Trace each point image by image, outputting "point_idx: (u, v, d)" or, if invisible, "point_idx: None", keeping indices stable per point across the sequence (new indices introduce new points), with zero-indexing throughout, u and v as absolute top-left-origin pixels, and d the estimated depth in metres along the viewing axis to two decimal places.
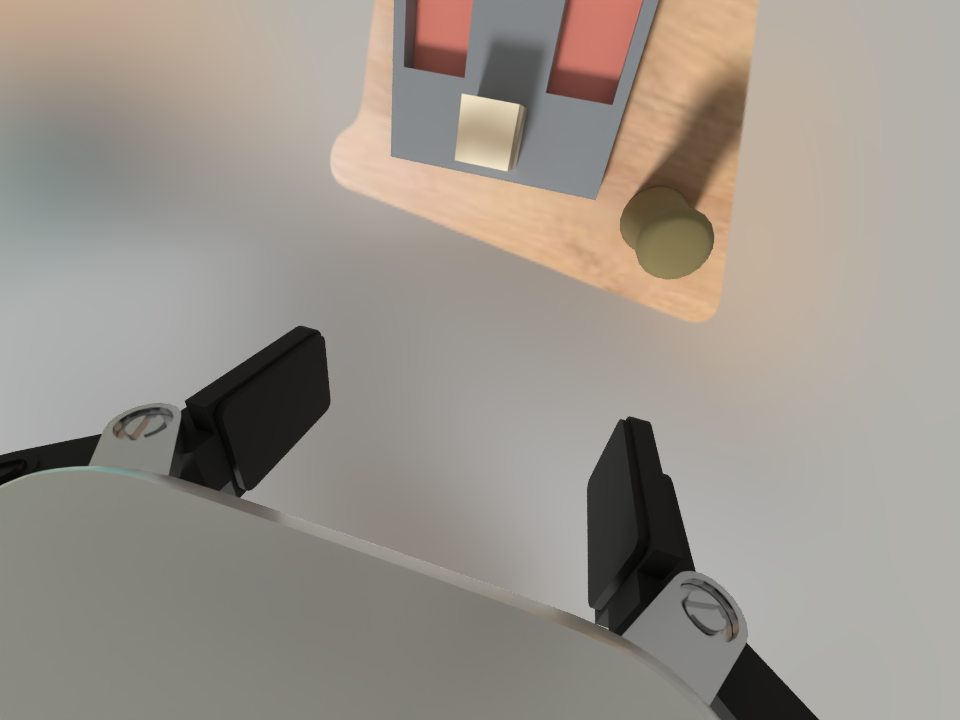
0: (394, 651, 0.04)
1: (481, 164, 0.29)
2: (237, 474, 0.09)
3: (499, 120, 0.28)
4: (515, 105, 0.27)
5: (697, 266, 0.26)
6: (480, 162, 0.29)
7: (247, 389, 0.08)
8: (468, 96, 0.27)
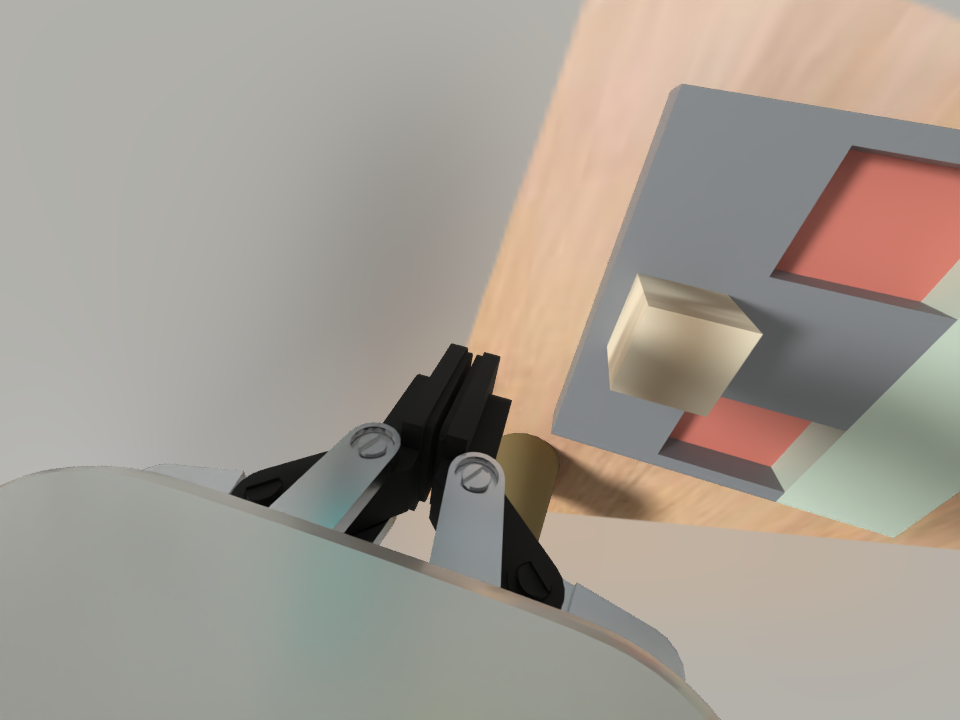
0: (394, 651, 0.04)
1: (629, 352, 0.16)
2: (421, 487, 0.09)
3: (692, 388, 0.16)
4: (707, 411, 0.17)
5: None
6: (633, 351, 0.16)
7: (441, 408, 0.09)
8: (752, 345, 0.15)
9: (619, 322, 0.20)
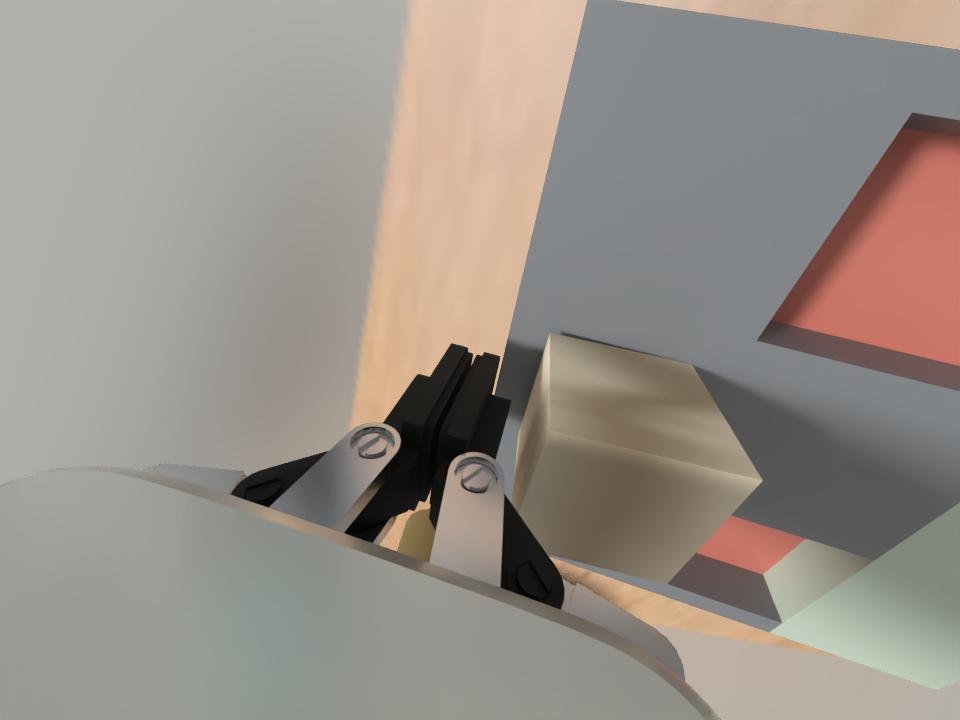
0: (394, 651, 0.04)
1: (529, 497, 0.09)
2: (422, 487, 0.09)
3: (640, 548, 0.09)
4: (667, 578, 0.10)
5: None
6: (535, 495, 0.09)
7: (441, 408, 0.09)
8: (743, 495, 0.08)
9: (529, 406, 0.12)
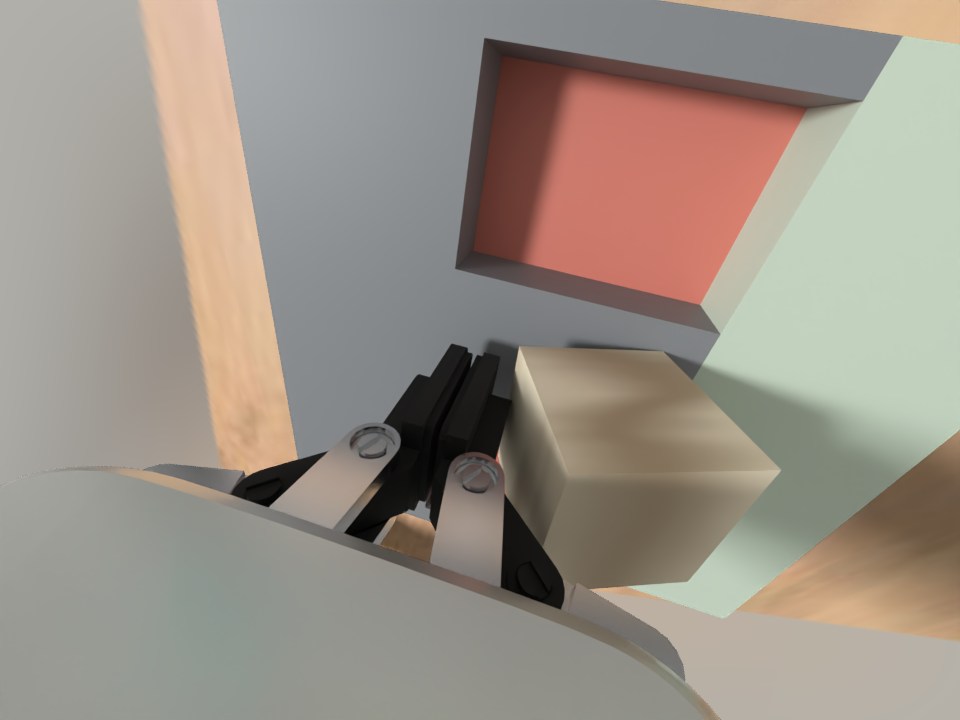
0: (394, 651, 0.04)
1: (548, 544, 0.08)
2: (422, 487, 0.09)
3: (663, 558, 0.09)
4: (688, 576, 0.10)
5: None
6: (554, 541, 0.08)
7: (441, 407, 0.09)
8: (762, 487, 0.08)
9: (509, 427, 0.11)
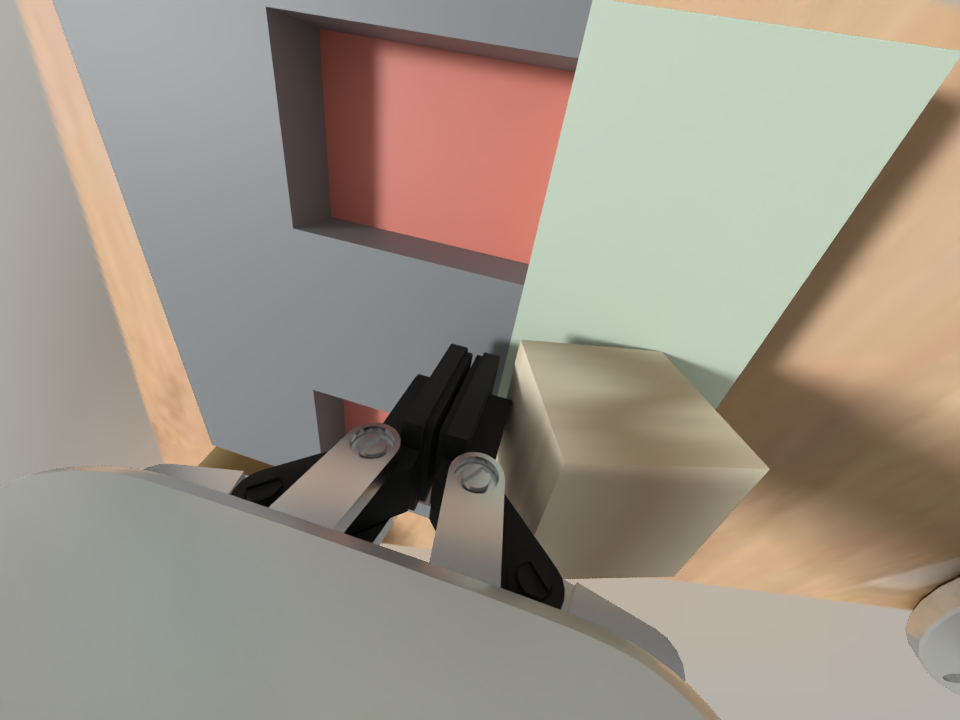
0: (394, 651, 0.04)
1: (540, 531, 0.08)
2: (422, 487, 0.09)
3: (652, 552, 0.09)
4: (674, 571, 0.10)
5: None
6: (546, 528, 0.08)
7: (441, 408, 0.09)
8: (750, 485, 0.08)
9: None
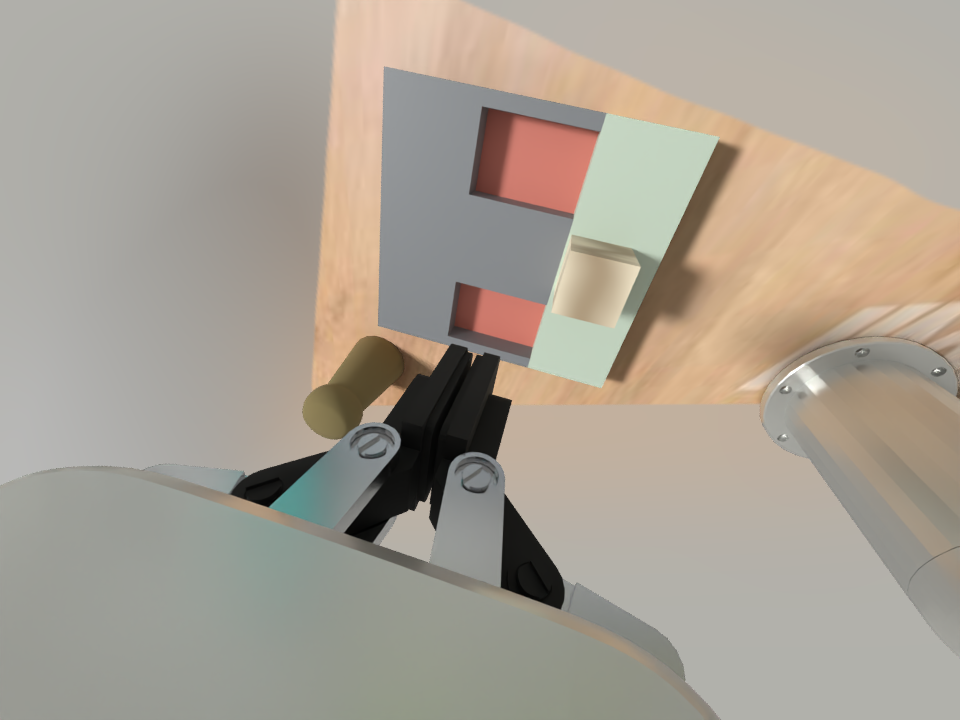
0: (394, 651, 0.04)
1: (561, 284, 0.24)
2: (421, 487, 0.09)
3: (603, 307, 0.25)
4: (614, 324, 0.25)
5: (317, 433, 0.33)
6: (564, 283, 0.24)
7: (441, 408, 0.09)
8: (635, 274, 0.23)
9: (561, 270, 0.28)
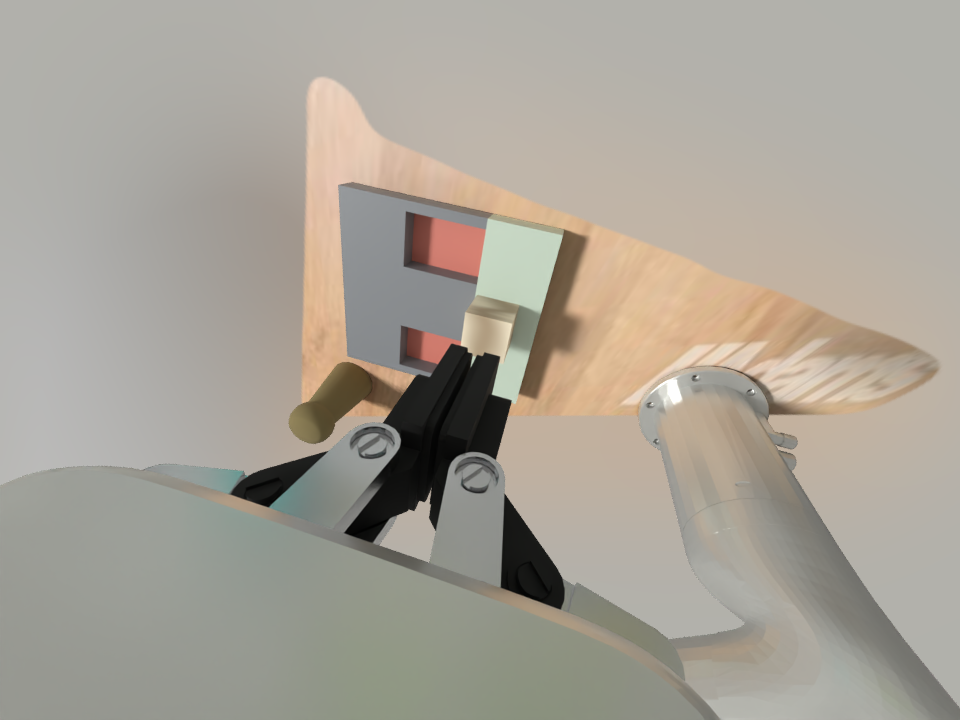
0: (394, 651, 0.04)
1: (463, 333, 0.35)
2: (421, 487, 0.09)
3: (493, 349, 0.35)
4: (502, 361, 0.35)
5: (300, 439, 0.44)
6: (464, 333, 0.35)
7: (441, 408, 0.09)
8: (510, 328, 0.33)
9: None
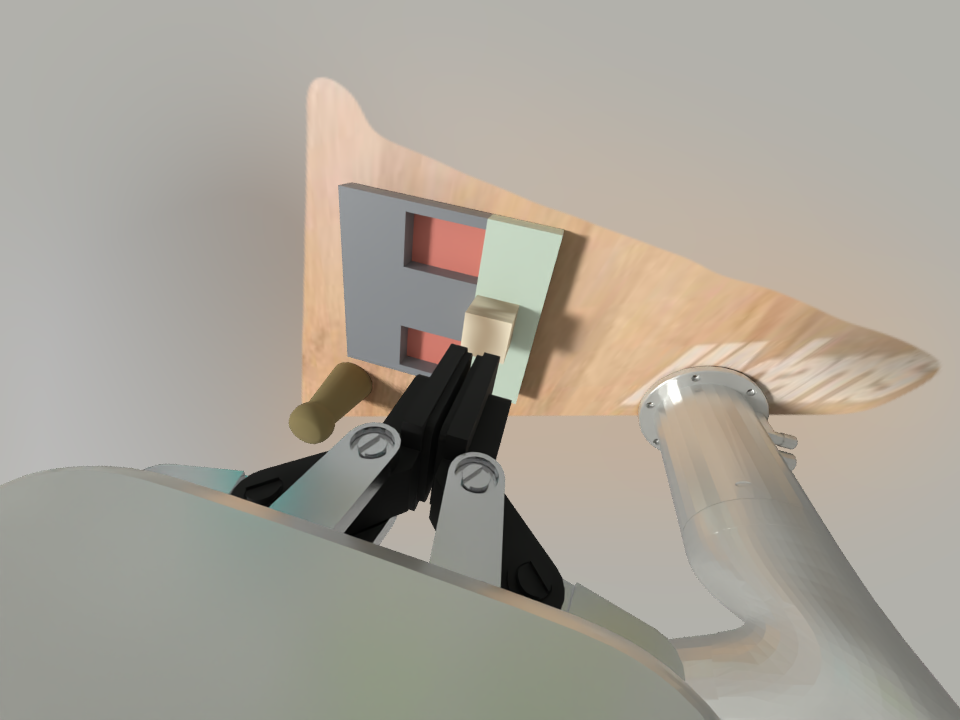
0: (394, 651, 0.04)
1: (463, 333, 0.35)
2: (421, 487, 0.09)
3: (493, 349, 0.35)
4: (502, 361, 0.35)
5: (300, 439, 0.44)
6: (464, 333, 0.35)
7: (441, 408, 0.09)
8: (510, 328, 0.33)
9: None
